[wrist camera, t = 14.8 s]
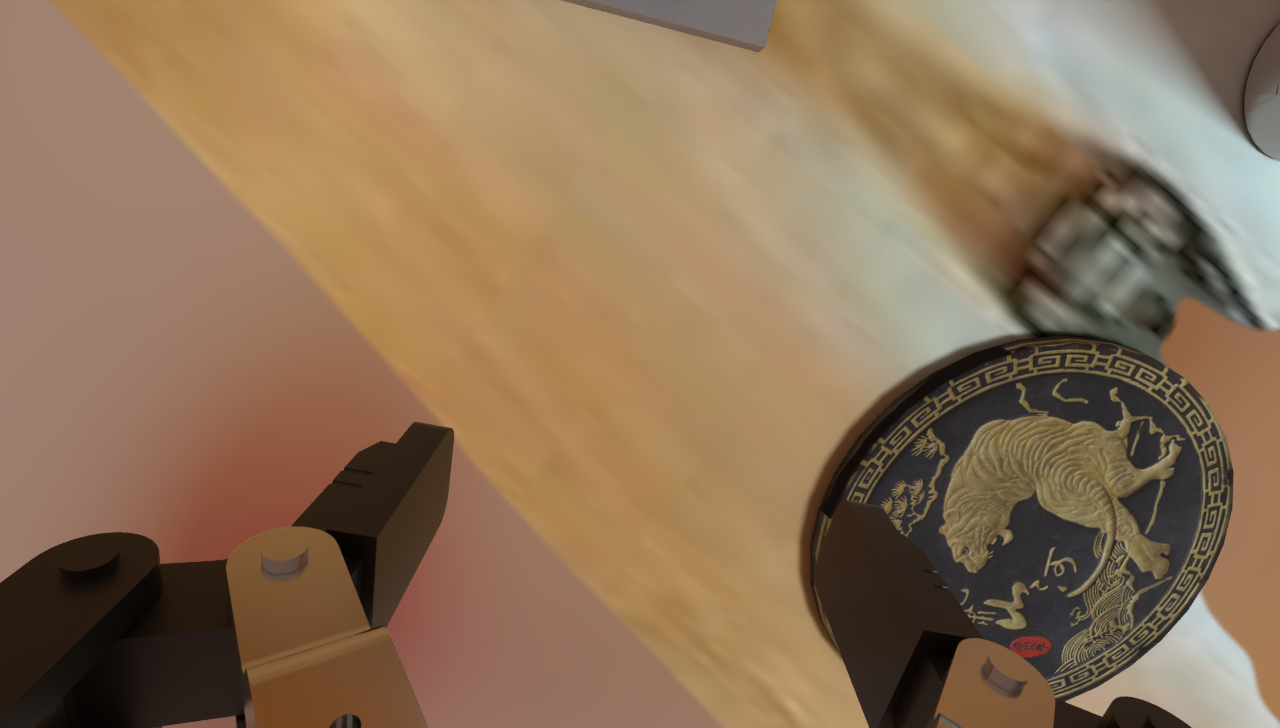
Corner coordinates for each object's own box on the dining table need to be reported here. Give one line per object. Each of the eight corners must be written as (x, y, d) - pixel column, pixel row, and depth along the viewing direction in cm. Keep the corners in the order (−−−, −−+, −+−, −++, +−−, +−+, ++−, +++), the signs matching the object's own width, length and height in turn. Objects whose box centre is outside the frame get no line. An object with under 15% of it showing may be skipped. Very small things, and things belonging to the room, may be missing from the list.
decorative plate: (1125, 740, 47) (766, 700, 43) (1105, 719, 49) (759, 679, 45) (1319, 387, 39) (901, 298, 35) (1286, 378, 41) (886, 292, 37)
